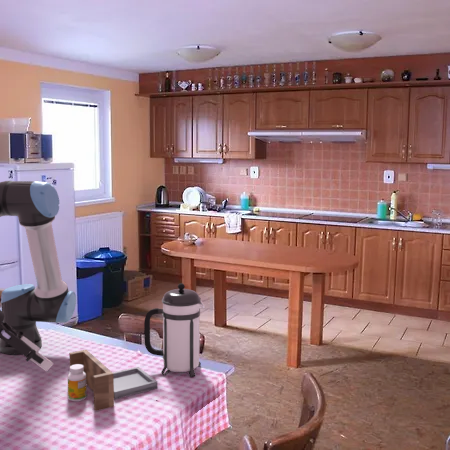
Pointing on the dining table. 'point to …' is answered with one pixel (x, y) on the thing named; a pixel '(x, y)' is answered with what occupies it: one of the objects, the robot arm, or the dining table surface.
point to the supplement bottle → (77, 383)
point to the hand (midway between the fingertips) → (43, 359)
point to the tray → (132, 382)
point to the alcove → (96, 378)
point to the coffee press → (178, 330)
